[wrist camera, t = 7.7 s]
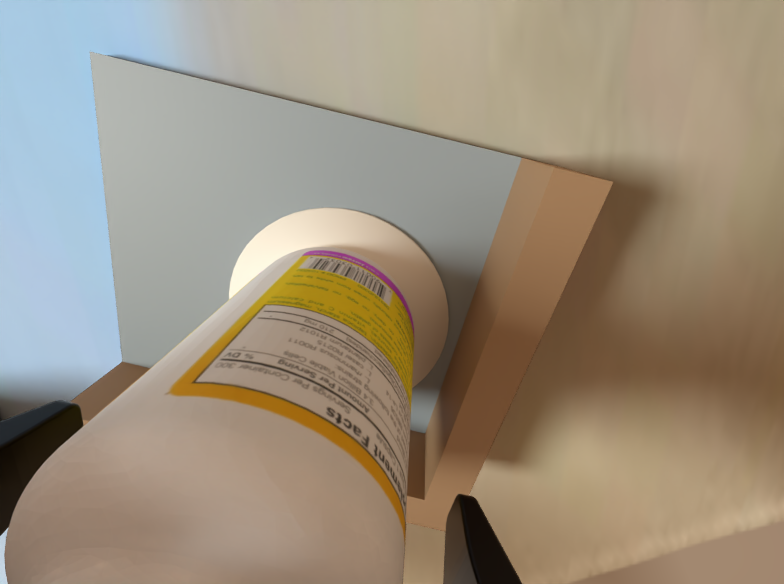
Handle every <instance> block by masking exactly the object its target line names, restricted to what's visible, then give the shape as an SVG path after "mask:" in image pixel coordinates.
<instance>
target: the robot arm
mask: <svg viewBox="0 0 784 584" xmlns="http://www.w3.org/2000/svg"><path fill="white" fill-rule="evenodd" d="M83 426H84V425H83V419H82V413H81V408H80V406H79V405H78V404H76V403H72V402H68V401H63V400H59V401H55V402H52V403H49V404H46V405H44V406H41V407H38V408H36V409H33V410H30V411H28V412H25V413H22V414H20V415H17V416H14V417H11V418H9V419H6V420H3V421H1V422H0V536H1V535H2V534H3V533H4V531H5V530H6V529H7V528H8V527H9V525H10V521H11V518H12V515H13V512H14V509H15V507H16V505H17V502H18V500H19V498H20V497H21V495H22V493H23V491H24V489H25V488H26V486H27V485H28V483H29V482H30V480H31V479H32V477H33V476H34V475H35V473H36V472H37V471H38V469H39V468H40V467H41V466H42V465H43V463H44V462H45V461H46V460H47V459H48V458H49V457H50V456H51V455H52V454H53V453H54V452H55V451H56V450H57V449H58V448H59V447H60V446H61V445H63V444H64V443H65V442H66V441H67V440H68V439H70V438H71V437H72V436H73V435H74V434H75V433H76V432H78V431H79V430H80V429H81V428H82V427H83ZM443 584H522V582H521V581H520V579H519V577H518V575H517V573H516V571H515V570H514V568H513V566H512V564H511V562H510V560H509V559H508V557H507V555H506V553H505V551H504V549H503V547H502V546H501V544H500V542H499V540H498V538H497V536H496V535H495V533H494V531H493V529H492V527H491V525H490V523H489V522H488V520H487V518H486V516H485V514H484V512H483V511H482V509H481V507H480V505H479V503H478V501H477V500H476V499H475V498H474V497H472V496H468V495H464V494H458V495H457V496H456V498H455V500H454V502H453V504H452V507H451V509H450V511H449V513H448V516H447V520H446V534H445V557H444V580H443Z"/></svg>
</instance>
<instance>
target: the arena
mask: <svg viewBox="0 0 784 584" xmlns="http://www.w3.org/2000/svg"><path fill="white" fill-rule="evenodd" d="M90 59H91V68H92V78H93V87H94V97H95V106H96V116H97V125H98V135H99V144H100V154H101V163H102V173H103V182H104V192H105V201H106V211H107V220H108V230H109V239H110V249H111V258H112V268H113V277H114V287H115V296H116V306H117V315H118V325H119V334H120V344H121V353H122V362H121V363H120V364H119V365H118V366H116V367H115V368H114V369H112V370H111V371H110V372H108V373H107V374H106V375H104V376H103V377H102V378H100V379H99V380H98V381H97V382H95V383H94V384H93V385H91V386H90V387H89V388H87V389H86V390H85V391H83V392H82V393H81V394H79V395H78V396H77V397H76V398H74V399H73V400H72V401H70V402H72V403H76V404H78V405H79V406H80V408H81V413H82V419H83V425H85V424H87V423H88V422H89V421H90V420H91V419H92V418H93V417H95V416H96V415H97V414H98V413H99V412H100V411H101V410H103V409H104V408H105V407H106V406H107V405H108V404H110V403H111V402H112V401H113V400H114V399H115V398H117V397H118V396H119V395H120V394H121V393H122V392H124V391H125V390H126V389H127V388H128V387H129V386H131V385H132V384H133V383H134V382H135V381H136V380H138V379H139V378H140V377H141V376H142V375H143V374H145V373H146V372H147V371H148V370H149V369H150V368H151V367H153V366H154V365H155V364H156V363H157V362H158V361H160V360H161V359H162V358H163V357H164V356H165V355H166V354H168V353H169V352H170V351H171V350H172V349H173V348H175V347H176V346H177V345H178V344H179V343H180V342H181V341H182V340H184V339H185V338H186V337H187V336H188V335H189V334H190V333H192V332H193V331H194V330H195V329H196V328H197V327H199V326H200V325H201V324H202V323H203V322H204V321H205V320H207V319H208V318H209V317H210V316H211V315H212V314H213V313H215V312H216V311H217V310H218V309H219V308H220V307H221V306H223V305H224V304H225V303H226V302H227V301H228V300H229V299H230V298H232V297H233V296H234V295H235V294H236V293H237V292H238V291H239V290H241V289H242V288H243V287H244V286H245V285H246V284H247V283H249V282H250V281H251V280H252V279H253V278H254V277H256V276H257V275H258V274H259V273H260V272H262V271H263V270H264V269H265V268H267V267H268V266H269V265H270V264H272V263H273V262H274V261H276V260H277V259H279V258H281V257H283V256H285V255H287V254H289V253H291V252H294V251H297V250H301V249H305V248H312V247H334V248H340V249H345V250H349V251H352V252H355V253H357V254H360V255H362V256H364V257H366V258H368V259H370V260H372V261H373V262H375V263H376V264H378V265H379V266H380V267H382V268H383V269H384V270H385V271H386V272H387V273H389V274H390V275H391V277H392V278H393V279H394V280H395V281H396V282H397V283H398V285H399V286H400V288H401V289H402V291H403V293H404V295H405V296H406V298H407V300H408V303H409V305H410V308H411V311H412V315H413V321H414V360H413V379H412V400H411V419H410V441H409V461H408V481H407V506H406V522H407V523H411V524H416V525H420V526H424V527H429V528H433V529H437V530H441V531H446V520H447V516H448V513H449V511H450V509H451V507H452V504H453V502H454V500H455V498H456V496H457V495H458V494H464V495H468V496H469V494H470V491H471V489H472V487H473V485H474V483H475V481H476V478H477V476H478V474H479V472H480V470H481V468H482V465H483V463H484V461H485V459H486V457H487V455H488V453H489V450H490V448H491V446H492V444H493V442H494V440H495V437H496V435H497V433H498V431H499V429H500V427H501V424H502V422H503V420H504V418H505V416H506V414H507V411H508V409H509V407H510V405H511V403H512V401H513V398H514V396H515V394H516V392H517V390H518V388H519V385H520V383H521V381H522V379H523V377H524V375H525V372H526V370H527V368H528V366H529V364H530V362H531V359H532V357H533V355H534V353H535V351H536V349H537V346H538V344H539V342H540V340H541V338H542V336H543V334H544V331H545V329H546V327H547V325H548V323H549V321H550V318H551V316H552V314H553V312H554V310H555V308H556V305H557V303H558V301H559V299H560V297H561V295H562V292H563V290H564V288H565V286H566V284H567V282H568V279H569V277H570V275H571V273H572V271H573V269H574V266H575V264H576V262H577V260H578V258H579V256H580V253H581V251H582V249H583V247H584V245H585V243H586V240H587V238H588V236H589V234H590V232H591V230H592V227H593V225H594V223H595V221H596V219H597V217H598V215H599V212H600V210H601V208H602V206H603V204H604V202H605V199H606V197H607V195H608V193H609V191H610V189H611V186H612V184H613V182H611V181H608V180H604V179H601V178H597V177H594V176H590V175H587V174H583V173H580V172H576V171H572V170H569V169H565V168H562V167H558V166H554V165H550V164H546V163H542V162H538V161H534V160H530V159H526V158H522V157H517V156H513V155H509V154H505V153H501V152H497V151H493V150H489V149H485V148H481V147H477V146H473V145H469V144H465V143H460V142H456V141H452V140H448V139H444V138H440V137H436V136H432V135H428V134H424V133H420V132H416V131H412V130H408V129H403V128H399V127H395V126H391V125H387V124H383V123H379V122H375V121H371V120H367V119H363V118H359V117H355V116H351V115H347V114H342V113H338V112H334V111H330V110H326V109H322V108H318V107H314V106H310V105H306V104H302V103H298V102H294V101H290V100H285V99H281V98H277V97H273V96H269V95H265V94H261V93H257V92H253V91H249V90H245V89H241V88H237V87H233V86H228V85H224V84H220V83H216V82H212V81H208V80H204V79H200V78H196V77H192V76H188V75H184V74H180V73H176V72H171V71H167V70H163V69H159V68H155V67H151V66H147V65H143V64H139V63H135V62H131V61H127V60H123V59H119V58H115V57H110V56H106V55H102V54H98V53H93V52H90Z"/></svg>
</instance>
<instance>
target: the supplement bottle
mask: <svg viewBox="0 0 784 584" xmlns="http://www.w3.org/2000/svg"><path fill="white" fill-rule="evenodd" d="M413 360H414V321H413V315H412V311H411V308H410V305H409V303H408V300H407V298H406V296H405V295H404V293H403V291H402V289H401V288H400V286H399V285H398V283H397V282H396V281H395V280H394V279H393V278H392V277H391V275H390V274H389V273H387V272H386V271H385V270H384V269H383V268H382V267H380V266H379V265H378V264H376V263H375V262H373V261H372V260H370V259H368V258H366V257H364V256H362V255H360V254H357V253H355V252H352V251H349V250H345V249H340V248H334V247H312V248H305V249H301V250H297V251H294V252H291V253H289V254H287V255H285V256H283V257H281V258H279V259H277V260H276V261H274V262H273V263H272V264H270V265H269V266H268V267H267V268H265V269H264V270H263V271H262V272H260V273H259V274H258V275H257V276H256V277H254V278H253V279H252V280H251V281H250V282H249V283H247V284H246V285H245V286H244V287H243V288H242V289H241V290H239V291H238V292H237V293H236V294H235V295H234V296H233V297H232V298H230V299H229V300H228V301H227V302H226V303H225V304H224V305H223V306H221V307H220V308H219V309H218V310H217V311H216V312H215V313H213V314H212V315H211V316H210V317H209V318H208V319H207V320H205V321H204V322H203V323H202V324H201V325H200V326H199V327H197V328H196V329H195V330H194V331H193V332H192V333H190V334H189V335H188V336H187V337H186V338H185V339H184V340H182V341H181V342H180V343H179V344H178V345H177V346H176V347H175V348H173V349H172V350H171V351H170V352H169V353H168V354H166V355H165V356H164V357H163V358H162V359H161V360H160V361H158V362H157V363H156V364H155V365H154V366H153V367H151V368H150V369H149V370H148V371H147V372H146V373H145V374H143V375H142V376H141V377H140V378H139V379H138V380H136V381H135V382H134V383H133V384H132V385H131V386H129V387H128V388H127V389H126V390H125V391H124V392H122V393H121V394H120V395H119V396H118V397H117V398H115V399H114V400H113V401H112V402H111V403H110V404H108V405H107V406H106V407H105V408H104V409H103V410H101V411H100V412H99V413H98V414H97V415H96V416H95V417H93V418H92V419H91V420H90V421H89V422H88V423H87V424H85V425H84V426H83V427H82V428H81V429H80V430H79V431H78V432H76V433H75V434H74V435H73V436H72V437H71V438H70V439H68V440H67V441H66V442H65V443H64V444H63V445H61V446H60V447H59V448H58V449H57V450H56V451H55V452H54V453H53V454H52V455H51V456H50V457H49V458H48V459H47V460H46V461H45V462H44V463H43V465H42V466H41V467H40V468H39V469H38V471H37V472H36V473H35V475H34V476H33V477H32V479H31V480H30V482H29V483H28V485H27V486H26V488H25V489H24V491H23V493H22V495H21V497H20V498H19V500H18V502H17V505H16V507H15V509H14V512H13V515H12V518H11V521H10V525H9V528H8V532H7V537H6V545H5V554H4V555H5V570H6V576H7V582H8V584H403V569H404V554H405V532H406V506H407V481H408V461H409V441H410V419H411V400H412V379H413Z"/></svg>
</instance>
